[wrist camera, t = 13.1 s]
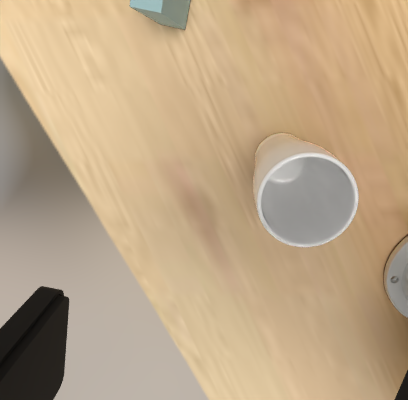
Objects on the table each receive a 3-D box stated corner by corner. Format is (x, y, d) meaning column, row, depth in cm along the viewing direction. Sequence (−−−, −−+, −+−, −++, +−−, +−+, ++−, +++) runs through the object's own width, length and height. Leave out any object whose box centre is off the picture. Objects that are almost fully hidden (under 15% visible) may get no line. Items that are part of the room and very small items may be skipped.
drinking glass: (252, 121, 38) (264, 145, 23) (319, 129, 37) (372, 158, 23) (243, 184, 40) (248, 242, 25) (306, 192, 39) (347, 255, 25)
